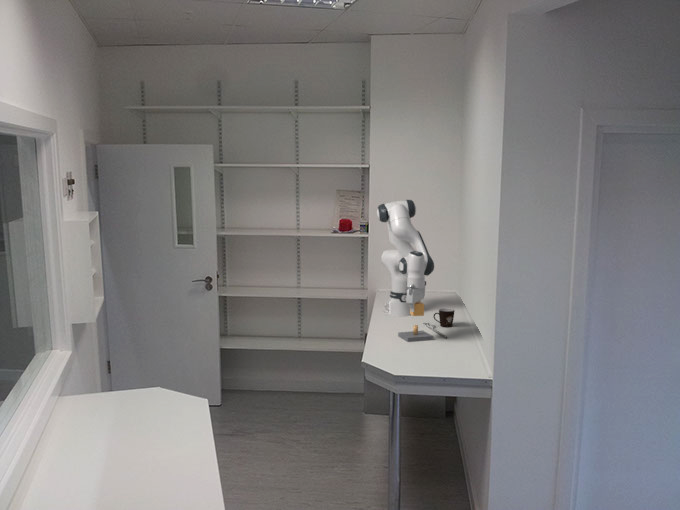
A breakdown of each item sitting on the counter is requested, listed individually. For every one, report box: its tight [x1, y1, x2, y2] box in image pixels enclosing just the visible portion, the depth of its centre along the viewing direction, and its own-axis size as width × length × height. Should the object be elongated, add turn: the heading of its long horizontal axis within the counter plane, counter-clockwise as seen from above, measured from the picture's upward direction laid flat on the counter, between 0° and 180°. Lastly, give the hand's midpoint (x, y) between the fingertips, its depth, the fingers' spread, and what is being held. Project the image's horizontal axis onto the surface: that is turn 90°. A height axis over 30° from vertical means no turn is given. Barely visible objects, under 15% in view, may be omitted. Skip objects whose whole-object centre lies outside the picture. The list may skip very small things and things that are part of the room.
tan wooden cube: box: [410, 301, 425, 317], centre depth 300 cm, size 6×6×6 cm
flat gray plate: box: [397, 324, 434, 343], centre depth 301 cm, size 12×14×6 cm
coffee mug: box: [433, 307, 455, 328], centre depth 325 cm, size 12×9×10 cm
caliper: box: [422, 322, 448, 339], centre depth 315 cm, size 29×2×5 cm
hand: (415, 310), depth 300 cm, fingers closed on tan wooden cube, 7 cm apart
